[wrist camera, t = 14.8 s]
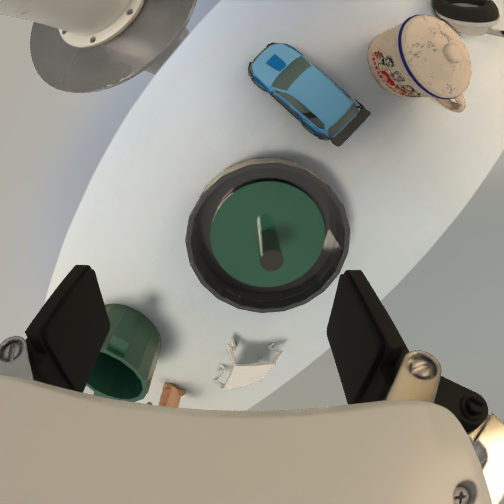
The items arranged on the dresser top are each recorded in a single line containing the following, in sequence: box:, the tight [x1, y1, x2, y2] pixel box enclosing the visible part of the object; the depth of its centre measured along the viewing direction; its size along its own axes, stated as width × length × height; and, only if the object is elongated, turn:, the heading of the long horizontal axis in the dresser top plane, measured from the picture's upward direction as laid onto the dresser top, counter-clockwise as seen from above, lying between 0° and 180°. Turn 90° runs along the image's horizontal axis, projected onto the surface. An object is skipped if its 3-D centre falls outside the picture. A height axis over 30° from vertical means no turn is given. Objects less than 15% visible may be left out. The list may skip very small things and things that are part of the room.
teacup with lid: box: [368, 15, 471, 112], centre depth 20 cm, size 12×9×12 cm
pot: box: [86, 304, 161, 402], centre depth 39 cm, size 13×18×10 cm
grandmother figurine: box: [147, 383, 186, 408], centre depth 43 cm, size 8×4×13 cm, turn 59°
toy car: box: [248, 43, 371, 147], centre depth 25 cm, size 6×12×6 cm, turn 50°
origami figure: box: [213, 338, 283, 389], centre depth 42 cm, size 12×8×5 cm
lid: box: [210, 180, 325, 287], centre depth 32 cm, size 14×14×7 cm
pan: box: [185, 158, 350, 313], centre depth 33 cm, size 18×18×4 cm
